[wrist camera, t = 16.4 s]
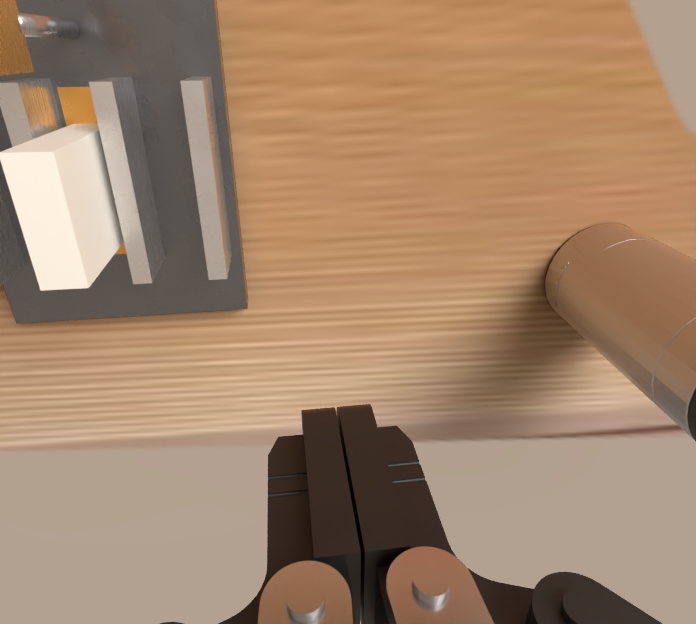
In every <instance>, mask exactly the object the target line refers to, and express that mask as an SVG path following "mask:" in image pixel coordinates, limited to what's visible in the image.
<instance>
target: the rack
mask: <svg viewBox="0 0 696 624" xmlns="http://www.w3.org/2000/svg"><path fill="white" fill-rule="evenodd" d="M71 124H98V127H99V131H100V136H101V140H102V145H103V149H104V154H105V158H106V163H107V167H108V172H109V176H110V181H111V186H112V190H113V195H114V199H115V204H116V208H117V213H118V217H119V222H120V226H121V231H122V235H123V240H124V242H123V244H122V245H121V246H120V248H119V249H118V250H117V251H116V253H115V254H114V255H113V257H112V258H111V259H110V261H109V262H108V263H107V265H106V266H105V267H104V269H103V270H102V271H101V273H100V274H99V275H98V277H97V278H96V279H95V281H94V282H93V283H92V285H91V286H90V287H89V288H82V289H62V290H43V291H41V290H40V287H39V284H38V281H37V277H36V274H35V271H34V268H33V264H32V261H31V258H30V255H29V251H28V248H27V245H26V242H25V239H24V235H23V232H22V229H21V226H20V222H19V219H18V216H17V213H16V209H15V206H14V203H13V200H12V197H11V193H10V190H9V187H8V184H7V180H6V177H5V174H4V171H3V167H2V164H1V161H0V287H1V286H2V285H3V286H4V289H5V292H6V295H7V298H8V300H9V303H10V306H11V309H12V312H13V315H14V317H15V320H16V323H17V324H18V323H34V322H49V321H65V320H81V319H97V318H113V317H128V316H144V315H160V314H176V313H191V312H207V311H223V310H239V309H247V308H248V295H247V285H246V276H245V266H244V257H243V247H242V238H241V229H240V219H239V210H238V200H237V191H236V182H235V172H234V163H233V153H232V144H231V134H230V125H229V116H228V106H227V97H226V87H225V78H224V69H223V59H222V50H221V40H220V31H219V21H218V12H217V3H216V0H0V152H1V151H4V150H7V149H9V148H12V147H14V146H17V145H20V144H22V143H25V142H27V141H30V140H33V139H35V138H38V137H40V136H43V135H45V134H48V133H51V132H53V131H56V130H58V129H61V128H64V127H66V126H69V125H71Z"/></svg>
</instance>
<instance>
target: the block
mask: <svg viewBox="0 0 696 624" xmlns="http://www.w3.org/2000/svg"><path fill="white" fill-rule="evenodd" d="M0 161H1V164H2V167H3V171H4V174H5V177H6V180H7V184H8V187H9V190H10V193H11V197H12V200H13V203H14V206H15V209H16V213H17V216H18V219H19V222H20V226H21V229H22V232H23V235H24V239H25V242H26V245H27V248H28V251H29V255H30V258H31V261H32V264H33V268H34V271H35V274H36V277H37V281H38V284H39V287H40V290H41V291H43V290H62V289H82V288H89V287H90V286H91V285H92V283H93V282H94V281H95V279H96V278H97V277H98V275H99V274H100V273H101V271H102V270H103V269H104V267H105V266H106V265H107V263H108V262H109V261H110V259H111V258H112V257H113V255H114V254H115V253H116V251H117V250H118V249H119V248H120V246H121V245H122V244H123V242H124V240H123V235H122V231H121V226H120V222H119V217H118V213H117V208H116V204H115V199H114V195H113V190H112V186H111V181H110V176H109V172H108V167H107V163H106V158H105V154H104V149H103V145H102V140H101V136H100V131H99V127H98V124H71V125H69V126H66V127H64V128H61V129H58V130H56V131H53V132H51V133H48V134H45V135H43V136H40V137H38V138H35V139H33V140H30V141H27V142H25V143H22V144H20V145H17V146H14V147H12V148H9V149H7V150H4V151H1V152H0Z"/></svg>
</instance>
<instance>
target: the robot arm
mask: <svg viewBox="0 0 696 624" xmlns="http://www.w3.org/2000/svg"><path fill="white" fill-rule="evenodd" d="M545 291H546V297H547V299H548V301H549V304H550V305H551V307H552V308H553V309H554V310H555V311H556V312H557V313H558V314H559V315H560V316H561V317H562V318H563V319H564V320H565V321H566V322H567V323H568V324H570V325H571V326H572V327H573V328H574V329H575V330H576V331H577V332H578V333H579V334H580V335H581V336H582V337H583V338H584V339H585V340H587V341H588V342H589V343H590V344H591V345H592V346H593V347H594V348H595V349H596V350H597V351H598V352H600V353H601V354H602V355H603V356H604V357H605V358H606V359H607V360H608V361H609V362H610V363H611V364H613V365H614V366H615V367H616V368H617V369H618V370H619V371H620V372H621V373H622V374H623V375H624V376H626V377H627V378H628V379H629V380H630V381H631V382H632V383H633V384H634V385H635V386H636V387H637V388H639V389H640V390H641V391H642V392H643V393H644V394H645V395H646V396H647V397H648V398H649V399H650V400H651V401H653V402H654V403H655V404H656V405H657V406H658V407H659V408H660V409H661V410H662V411H663V412H664V413H666V414H667V415H668V416H669V417H670V418H671V419H672V420H673V421H674V422H676V423H677V424H678V425H679V426H680V427H681V428H682V429H683V430H684V431H685V432H686V433H687V434H688V435H690V436H691V437H692V438H693V439H694V440H695V441H696V260H695V259H693V258H691V257H689V256H687V255H685V254H683V253H681V252H679V251H677V250H675V249H673V248H671V247H669V246H667V245H665V244H663V243H661V242H659V241H657V240H655V239H653V238H649V237H647V236H645V235H643V234H641V233H639V232H637V231H635V230H633V229H631V228H629V227H626V226H624V225H620V224H615V223H606V224H599V225H595V226H592V227H589V228H587V229H585V230H583V231H581V232H579V233H578V234H576V235H575V236H573V237H572V238H570V239H569V240H568V241H567V242H566V243H565V244H564V245H563V246H562V247H561V248H560V250H559V251H558V252H557V253H556V255H555V256H554V258H553V260H552V262H551V264H550V266H549V268H548V272H547V275H546V281H545ZM302 429H303V435H294V436H283V437H278V439H277V440H276V442H275V444H274V446H273V448H272V450H271V452H270V453H269V455H268V551H267V553H268V555H267V574H266V577H265V580H264V583H263V585H262V588H261V589H260V591H259V592H258V594H257V596H256V597H255V598H254V599H253V601H252V602H251V603H250V604H249V605H248V606H247V607H246V608H245V609H244V610H242V611H241V612H239V613H238V614H236V615H235V616H233V617H231V618H229V619H227V620H225V621H223V622H221V623H219V624H360V621H361V624H662V623H661V622H659V621H657V620H656V619H654V618H653V617H651V616H649V615H648V614H646V613H645V612H643V611H642V610H640V609H639V608H637V607H636V606H634V605H632V604H631V603H629V602H628V601H626V600H625V599H623V598H621V597H620V596H618V595H617V594H615V593H614V592H612V591H610V590H609V589H607V588H605V587H604V586H602V585H601V584H600V583H598V582H596V581H594V580H592V579H590V578H588V577H586V576H583V575H580V574H576V573H571V572H558V573H553V574H550V575H547V576H545V577H544V578H543V579H541V580H540V582H539V583H538V584H537V585H536V587H535V589H530V588H525V587H520V586H514V585H509V584H504V583H499V582H495V581H491V580H488V579H486V578H483V577H481V576H479V575H477V574H475V573H474V572H472V571H471V570H470V569H468V568H467V567H466V566H465V565H464V564H463V563H462V562H461V561H460V560H459V559H458V558H457V557H456V556H455V554H454V553H453V551H452V550H451V548H450V546H449V543H448V541H447V538H446V535H445V532H444V529H443V527H442V524H441V521H440V519H439V516H438V513H437V510H436V507H435V504H434V501H433V499H432V496H431V493H430V490H429V487H428V485H427V482H426V481H425V476H424V473H423V471H422V468H421V465H419V460H418V457H417V454H416V451H415V448H414V446H413V443H412V441H411V440H410V439H409V438H408V437H407V436H406V435H405V434H404V433H403V432H402V431H401V430H400V429H399V428H398V427H397V426H389V427H378V428H377V424H376V421H375V417H374V414H373V410H372V407H371V405H370V404H366V405H355V406H343V407H337V416H336V410H335V408H322V409H311V410H302ZM161 624H183V623H177V622H166V623H161Z"/></svg>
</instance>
